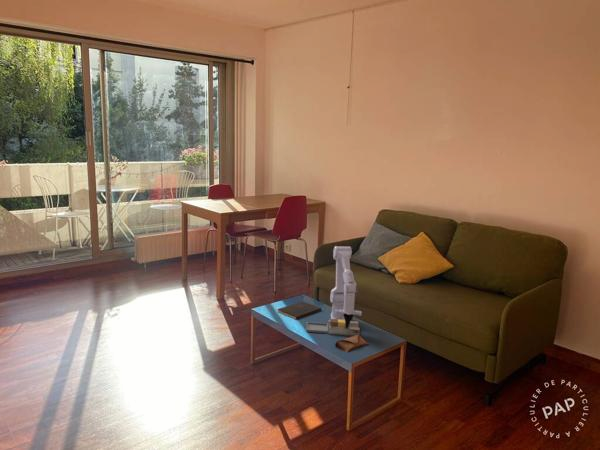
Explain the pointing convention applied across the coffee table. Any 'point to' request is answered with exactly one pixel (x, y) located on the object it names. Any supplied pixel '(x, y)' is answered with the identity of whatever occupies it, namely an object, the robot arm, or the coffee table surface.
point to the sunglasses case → (351, 343)
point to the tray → (317, 327)
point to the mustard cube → (341, 323)
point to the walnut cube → (334, 322)
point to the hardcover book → (299, 310)
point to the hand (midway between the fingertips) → (347, 326)
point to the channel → (344, 329)
